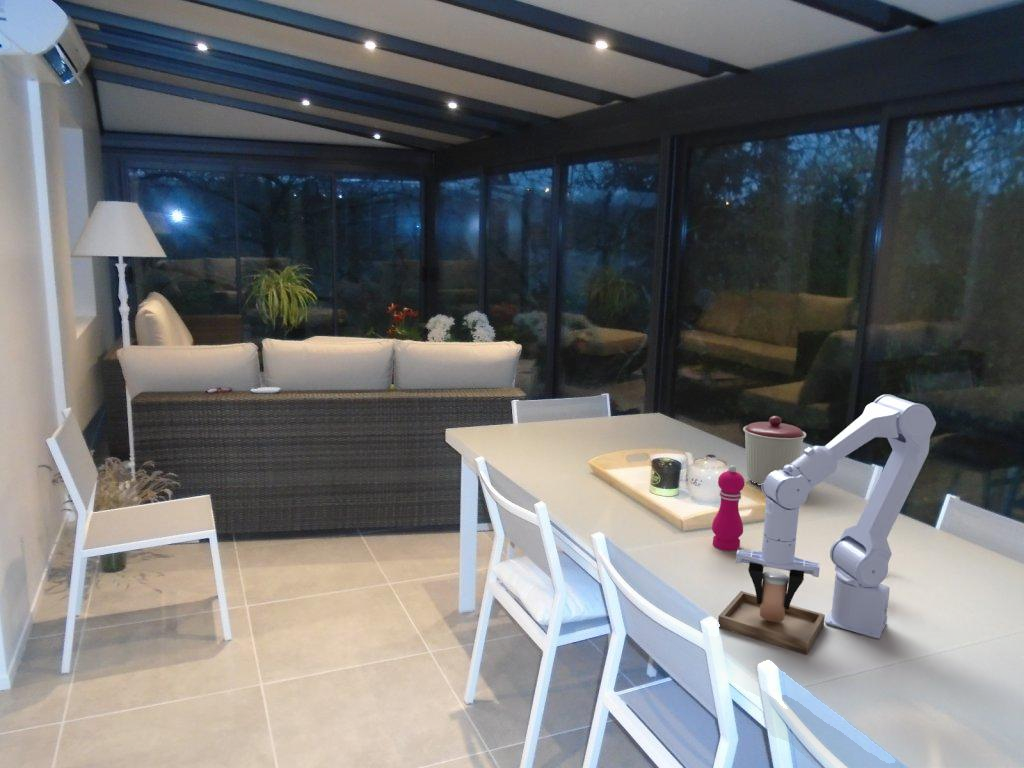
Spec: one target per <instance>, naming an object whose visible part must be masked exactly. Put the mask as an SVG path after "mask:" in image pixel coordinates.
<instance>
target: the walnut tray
mask: <svg viewBox="0 0 1024 768" xmlns="http://www.w3.org/2000/svg"><path fill="white" fill-rule="evenodd" d="M760 605H761V604H757V597H756V594H753V593H749V592H746V591H743V590H741V591H740V592H738V593H737V594H736V596H735V597H734V598H733V599H732V600H731V602H730V603H729V604H728V605H727V606H726V607H725V608H724V610H722V611H721V613H720V614H719V615H718V620H717V623H718V622H719V624H720V627H721V628H720V627H719V628H720V629H722V630H723V629H724V630H726V629H727V631H729V630H730V632H732V631H734V632H733V633H736V632H737V633H736V634H739V635H743V636H745V637H748V638H752V639H755V640H759V641H762V642H763V643H764V642H765V643H768V644H771V645H774V646H777V647H780V648H784V649H787V650H789V651H793V652H796V653H799V654H802V655H805V656H806V655H808V653H809V652H810V650H811V649H812V646H813V645H814V644H815V643H814V642H815V641H816V640H817V638H818V636H819V634H820V633H821V631H822V629H823V627H824V625H825V620H826V614H823V613H820V612H818V611H813V610H809V609H806V608H802V607H799V606H796V605H792V604H790V606H789V610H788V609H785V616H784V620H783V621H780V622H772V621H768V620H765V619H763V618H762V617H761V616H760Z"/></svg>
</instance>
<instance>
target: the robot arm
mask: <svg viewBox="0 0 1024 768" xmlns="http://www.w3.org/2000/svg"><path fill="white" fill-rule="evenodd" d="M936 425H937V422H936V420H935V417H934V416H933V413H932V411H931V410H930V408H929V407H928V406H926V404H922V403H915V402H912V401H909V400H906V399H903V398H900V397H898V396H896V395H893V394H882V395H880V396H878V397H876V398H875V399H874V401H873V402H870V403H868V404H867V405H866V406H865V408H864V409H863V412H862V414H861V415H860V416H859V417H857V418H856V419H855V420H854V421H852V422H851V423H850V424H849V425H848V426H847V427H846V428H844V429H843V430H842V431H841V432H839V434H837V435H836V436H835V437H834V438H833V439H832V440H830V441H829V442H828V443H827V444H825V445H814V446H812V447H811V446H808V447H807V448H805V449H804V450H803V452H804V453H803V454H800V457H799V458H797V459H796V460H795V461H793V462H792V463H790V464H789V465H788V464H787V465H786V466H784V467H783V468H784V469H783V470H779V471H777V470H775V471H773V472H771V473H770V474H769V475H768V476H767V477H766V479H765V481H764V483H761V486H760V487H761V492H762V493H763V494H764V496H765V511H764V512H765V513H764V523H763V533H762V535H763V536H762V543H761V544H762V546H761V550H760V551H759V550H742V549H737V550H736V554H735V564H741V565H742V564H749V566H748V574H749V577H750V578H751V581H752V584H753V586H754V587H753V588H754V591H755V595H756V597H757V604H761V594H762V583H763V579H762V577H763V573H764V567H765V568H772V569H776V570H781V571H782V570H783V571H789V573H788V577H789V582H788V586H787V596H786V602H785V609H788V610H789V606H790V605H791V602H792V600H793V598H794V595H795V594H796V592H797V591H798V589H799V587H800V586H801V585H802V584H803V582H804V578H805V577H804V576H805V574H806V575H810V576H812V577H815V578H819V577H820V567H821V566H820V565H821V564H820V563H819V562H814V561H810V560H807V559H803V558H799V557H796V555H795V554H796V544H797V543H796V542H797V534H798V524H799V523H798V522H799V521H798V520H799V514H800V513H799V512H800V506H803V505H804V504H805V503H806V501H807V499H808V496H809V494H810V492H812V490H813V488H815V487H816V486H818V485H819V484H820V483H822V482H823V481H824V480H826V479H827V478H828V477H830V476H831V475H832V474H834V473H835V472H836V471H837V469H838V462H839V461H840V460H842V459H843V458H845V457H846V456H848V455H849V454H851V453H853V452H854V451H855V450H858V449H859V448H860V447H862V446H863V445H865V444H867V443H868V442H870V441H872V440H873V439H875V438H886V439H887V440H888V443H889V446H890V447H891V449H892V450H891V453H890V455H889V457H888V459H887V461H886V463H885V465H884V468H883V470H882V471H881V473H880V476H879V478H878V479H877V482H876V484H875V485H874V488H873V490H872V492H871V494H870V497H869V498H868V501H867V503H866V505H865V507H864V509H863V511H862V513H861V515H860V518H859V519H858V521H857V523H856V524H855V525H852V526H850V527H847V528H845V529H844V531H843V532H842V535H840V537H839V538H838V539H837V540H835V541H834V543H833V544H832V546H831V547H830V551H829V556H830V560H831V562H832V563H833V564H834V565H835V567H834V571H835V577H834V578H835V580H834V584H833V585H834V587H833V597H832V606H831V610H830V611H829V614H828V615H827V617H826V618H825V619H824V624H827V625H829V626H833V627H836V628H839V629H843V630H846V631H850V632H854V633H857V634H859V635H864V636H868V637H871V638H874V639H880V638H881V636H882V633H883V630H884V628H885V626H886V625H887V621H888V615H887V614H888V609H889V608H888V607H889V599H890V586H888V585H885V584H882V582H883V581H884V580H885V579H886V578H887V576H888V573H889V572H888V571H889V562H890V559H891V557H892V551H891V548H890V545H889V542H888V537H889V534H890V533H891V531H892V529H893V527H894V525H895V522H896V521H897V519H898V516H899V514H900V513H901V510H902V508H903V506H904V504H905V502H906V500H907V498H908V496H909V494H910V491H911V490H912V487H913V486H914V484H915V481H916V479H917V478H918V476H919V473H920V472H921V470H922V467H923V465H924V463H925V461H926V459H927V457H928V455H929V451H930V443H931V441H930V440H931V439H930V438H931V437H932V434H933V432H934V430H935V428H936Z"/></svg>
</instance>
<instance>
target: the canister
mask: <svg viewBox="0 0 1024 768" xmlns="http://www.w3.org/2000/svg"><path fill="white" fill-rule="evenodd" d="M742 431H743V432H744V434H745V435H744V437H745V438H744V440H745V465H746V467H745V469H746V476H747V478H748V480H749V479H750V480H751V481H753V482H755V483H757V484H761V483H764V481H765V479H766V477H767V476H768V475H769V474H770V473H771V472H773V471H775V470H777V471H779V470H783V469H784V468H783V467H784V466H786V465H787V464H788V465H789V464H790V463H792V462H793V461H795V460H796V459H797V458H799V457H800V456H801V451H802V447H803V442H804V439H805V438H806V437H807V433H806V432H805V431H803V430H802V429H801V428H799V427H797V426H795V425H793V424H789V423H788V424H787V423H784V422H783V423H782V418H781V417H780V416H778V415H772V416H771V417H769V419H768V421H757V422H751V423H749V424H747V425H745V426H744V427H742ZM750 480H749V481H750ZM753 482H752V483H753ZM755 483H754V484H755ZM757 484H756V485H757Z"/></svg>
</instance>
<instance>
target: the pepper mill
mask: <svg viewBox="0 0 1024 768" xmlns="http://www.w3.org/2000/svg"><path fill="white" fill-rule="evenodd" d="M717 484H718V487H719V488H720V489H719V491H718V492H719V494H718V496H719V498H720V504H719V509H718V511H717V513H716V514H715V517H713V521H712V523H711V524H712V525H711V530H712V532H713V534H714V535H713V537H712V545H713V546H714V547H715V548H717V549H719V550H722V551H727V552H728V551H737V550H740V548H741V546H740V545H741V540H740V537H741V536H742V535H743V532H744V523H743V521H742V517H741V515H740V511H739V502H740V500H741V499H742V490H743V489H744V488H745V478H744V477H743V475H742V474H740V473H739V472H738V471H737V467H736V466H735V465H733V464H732V465H730V466H728V470H727V471H726V470H725V471H724V472H722V473H720V475H719V477H718V480H717Z"/></svg>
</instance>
